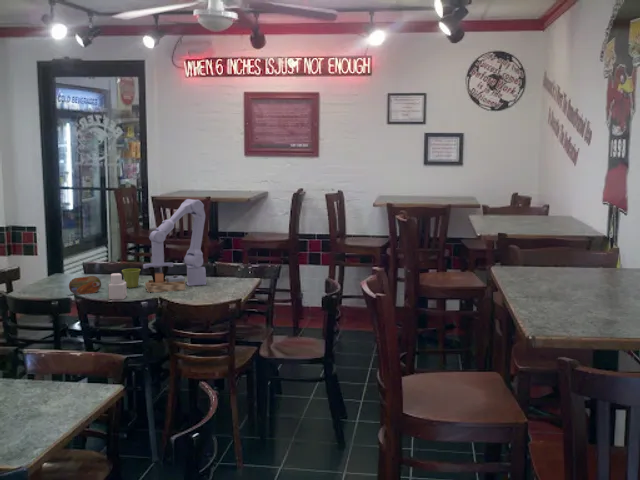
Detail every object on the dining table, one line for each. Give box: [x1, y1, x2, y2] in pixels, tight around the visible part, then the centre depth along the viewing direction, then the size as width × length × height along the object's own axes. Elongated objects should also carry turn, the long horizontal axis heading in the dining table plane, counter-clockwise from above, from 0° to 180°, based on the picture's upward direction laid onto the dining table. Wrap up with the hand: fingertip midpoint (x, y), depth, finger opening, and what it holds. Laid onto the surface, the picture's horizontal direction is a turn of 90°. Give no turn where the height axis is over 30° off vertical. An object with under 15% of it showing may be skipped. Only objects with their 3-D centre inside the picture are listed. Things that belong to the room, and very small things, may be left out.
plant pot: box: [121, 268, 141, 289], centre depth 362 cm, size 9×9×9 cm
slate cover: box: [165, 274, 186, 282], centre depth 356 cm, size 8×8×4 cm
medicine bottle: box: [107, 272, 128, 300], centre depth 335 cm, size 7×7×12 cm
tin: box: [68, 275, 102, 296], centre depth 346 cm, size 15×3×8 cm, turn 122°
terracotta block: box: [154, 272, 164, 283], centre depth 353 cm, size 4×4×6 cm
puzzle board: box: [144, 278, 186, 294], centre depth 355 cm, size 18×12×4 cm, turn 111°
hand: (158, 281), depth 354 cm, fingers closed on terracotta block, 4 cm apart
